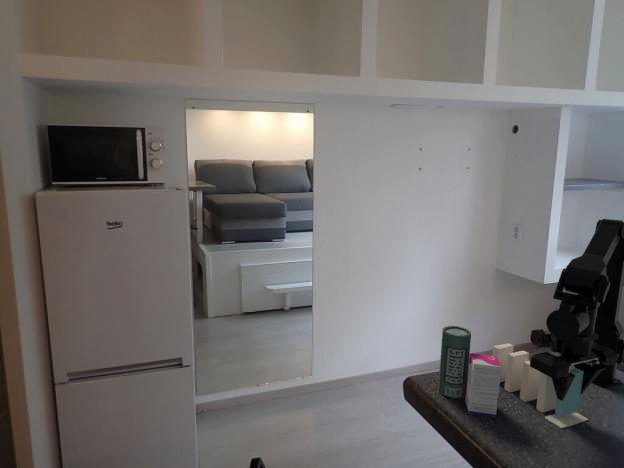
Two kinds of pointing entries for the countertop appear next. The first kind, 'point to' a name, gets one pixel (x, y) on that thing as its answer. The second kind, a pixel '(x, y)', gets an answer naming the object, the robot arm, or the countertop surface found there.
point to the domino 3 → (529, 383)
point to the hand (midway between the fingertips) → (568, 397)
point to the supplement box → (483, 384)
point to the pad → (565, 419)
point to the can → (454, 361)
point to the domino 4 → (546, 394)
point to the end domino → (571, 396)
